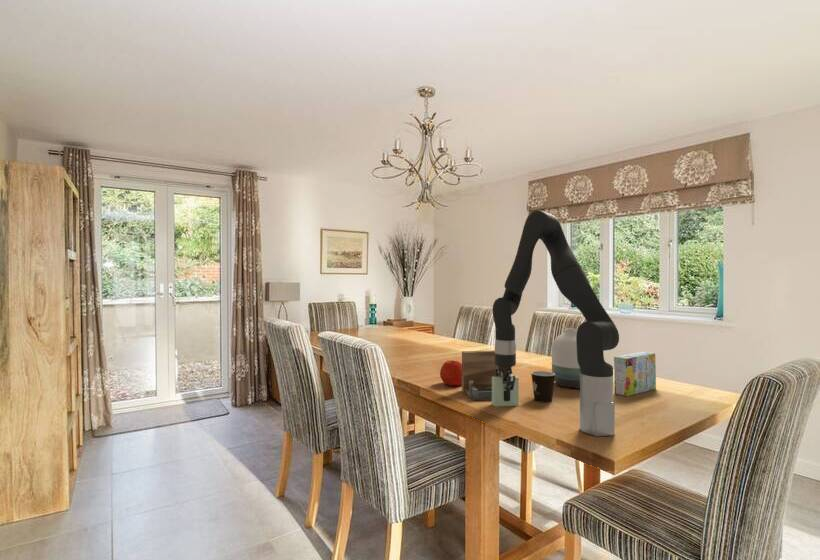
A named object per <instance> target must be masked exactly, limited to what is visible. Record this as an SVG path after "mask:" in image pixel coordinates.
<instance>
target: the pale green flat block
mask: <svg viewBox="0 0 820 560" xmlns="http://www.w3.org/2000/svg"><path fill="white" fill-rule="evenodd" d="M514 376H515V383H514V388H513V390H511V391H510V401H504V385H503V384H502V377H492V400H491V405H492V406H493V407H495V408H496V407H514V406H515V407H516V406H519V402H520V397H519V395H520V393H519V389H520V387H519V384H520V383H519V378H520V377H518V376H516V375H514ZM505 382H507V381H505Z"/></svg>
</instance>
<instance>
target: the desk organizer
mask: <svg viewBox="0 0 820 560" xmlns="http://www.w3.org/2000/svg"><path fill="white" fill-rule="evenodd" d="M461 364H462V385H461V391H462V392H463V393H465V394H466V395H467V396H468V397H469V398H471V400H472V401H492V377H496V369H499V366H497V365H495V349H494V350H469V351H468V350H467V351H466V350H464V351H461Z"/></svg>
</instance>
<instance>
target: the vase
mask: <svg viewBox="0 0 820 560" xmlns="http://www.w3.org/2000/svg"><path fill="white" fill-rule="evenodd" d="M577 330H578V328H572V327H571V328H564V331H563V333H561V334H559V335H558V336H556V338H555V339H554V340H553V342H552V346H551V372H552V373H555V380H554V383H556V384H557V385H559V386H561V387H567V388H573V389H580V367H579V364H578V361H577V345H576V335H577Z"/></svg>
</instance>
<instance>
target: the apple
mask: <svg viewBox="0 0 820 560" xmlns="http://www.w3.org/2000/svg"><path fill="white" fill-rule="evenodd" d="M439 377H440V379H441V381H442V382H443V383H444V384H445V385H447V386H450V387H460V386H462V362H460V361H458V360H447V361H445V362H444V363H443V364H442V366H441V368H440V371H439Z"/></svg>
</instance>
